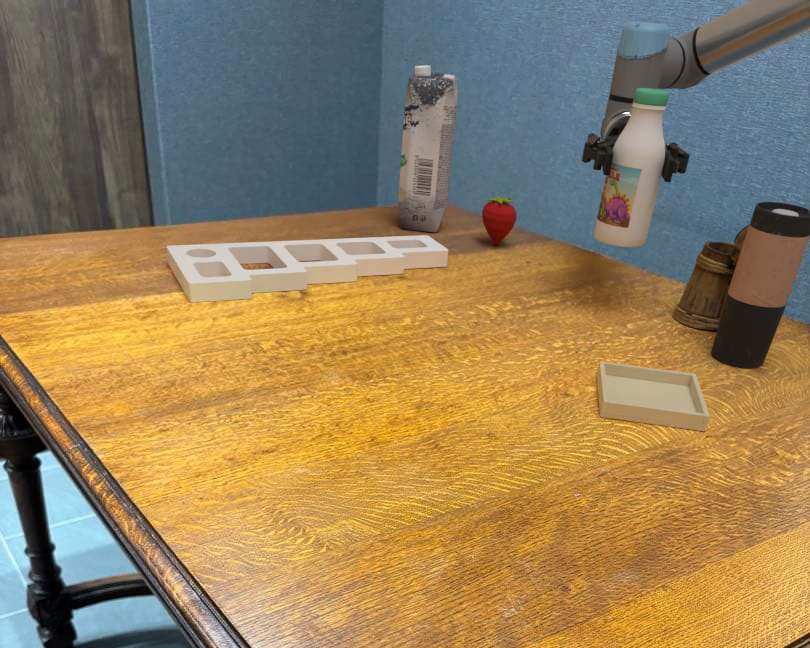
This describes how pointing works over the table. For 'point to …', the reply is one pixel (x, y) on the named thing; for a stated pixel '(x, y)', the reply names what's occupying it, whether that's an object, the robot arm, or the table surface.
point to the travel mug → (761, 283)
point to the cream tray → (651, 396)
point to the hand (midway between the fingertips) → (639, 168)
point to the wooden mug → (709, 284)
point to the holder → (295, 264)
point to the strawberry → (498, 218)
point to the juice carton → (426, 149)
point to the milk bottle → (634, 173)
